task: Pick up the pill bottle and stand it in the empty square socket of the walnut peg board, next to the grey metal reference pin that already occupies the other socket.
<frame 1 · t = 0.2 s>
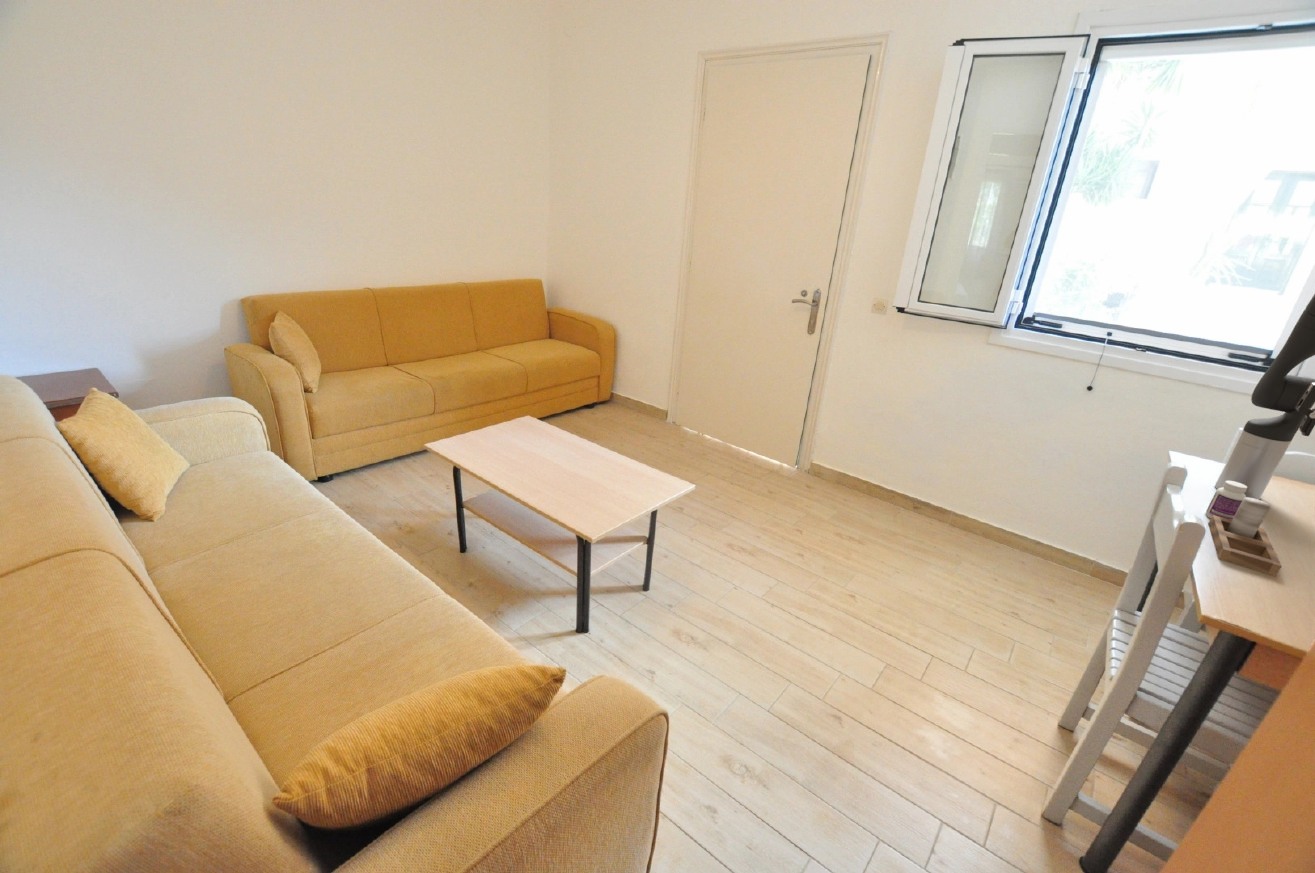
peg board: (1239, 547, 127), on the table
pill bottle: (1218, 519, 140), on the table
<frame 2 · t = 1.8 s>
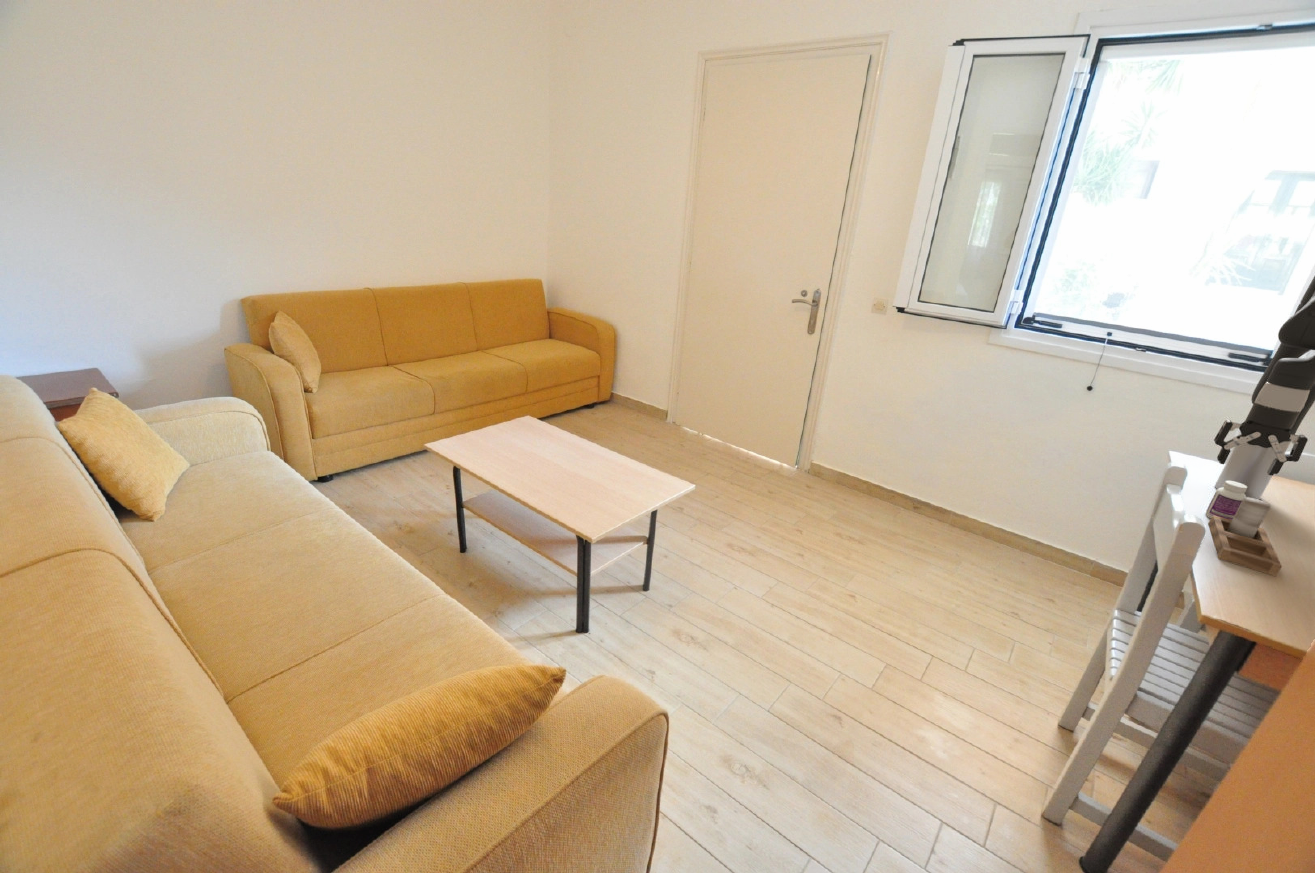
hand: (1244, 468, 135), 14 cm above the table, fingers open, 8 cm apart
nothing on the table moved.
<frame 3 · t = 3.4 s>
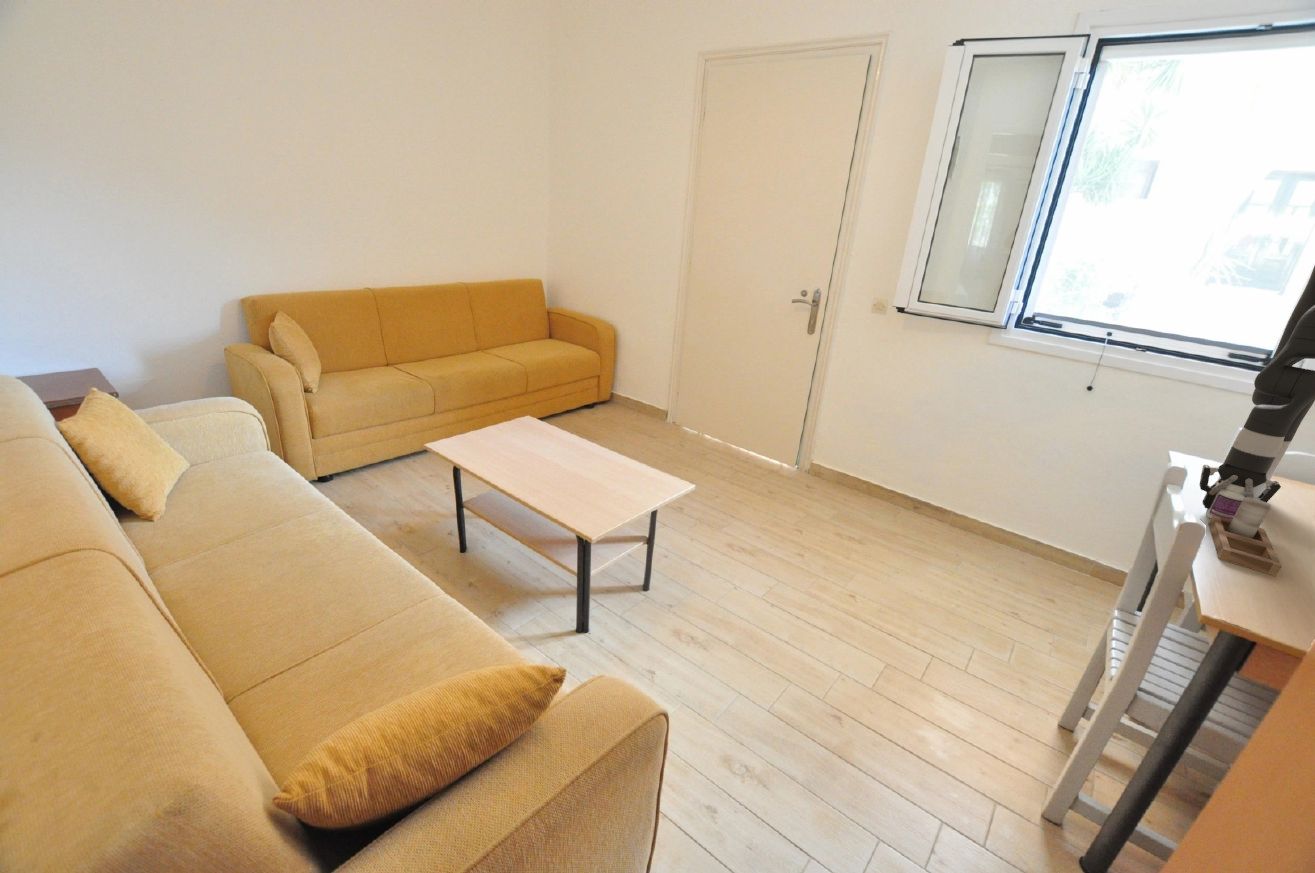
hand: (1222, 511, 139), 2 cm above the table, fingers closed on pill bottle, 5 cm apart
pill bottle: (1218, 519, 140), on the table, touching gripper
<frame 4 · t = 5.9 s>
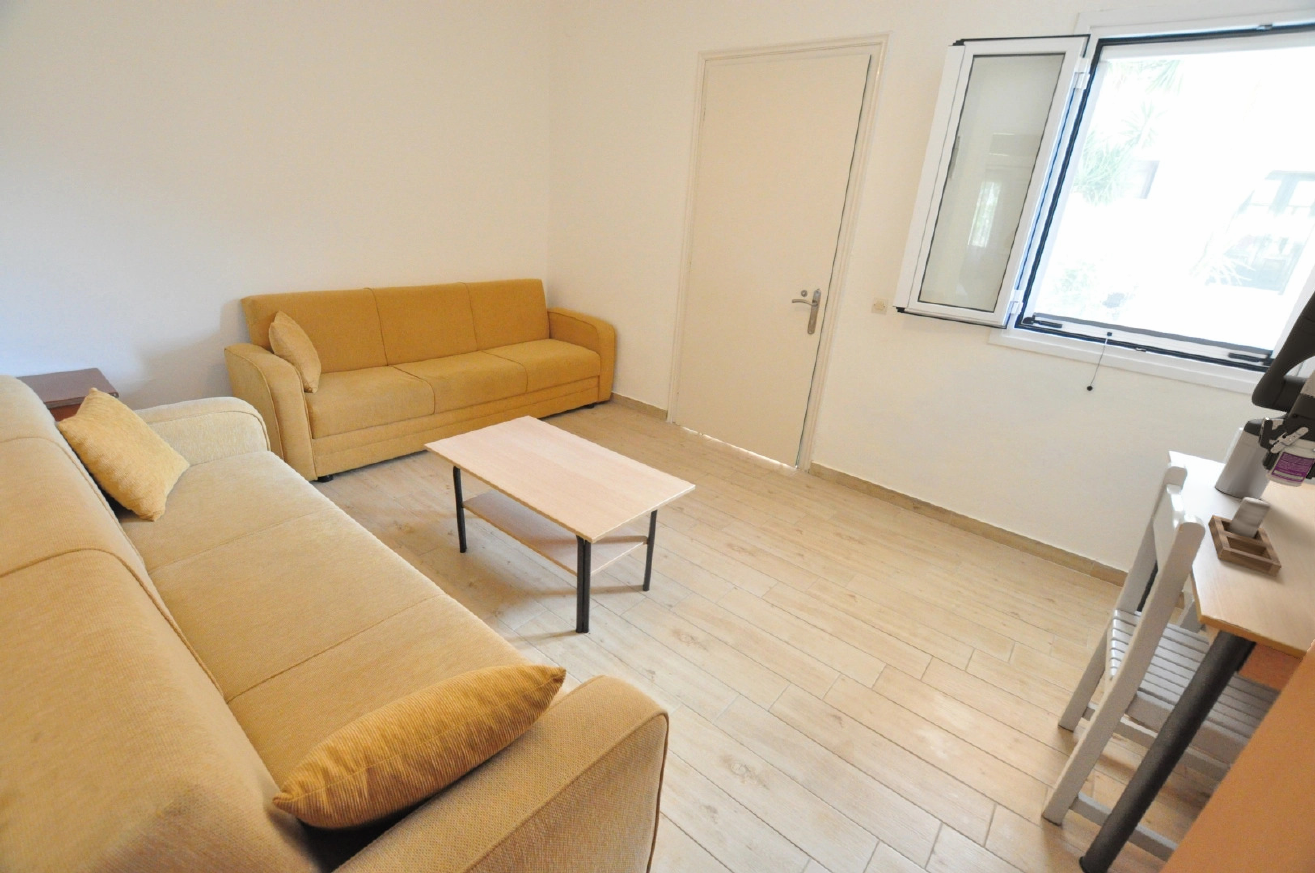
hand: (1286, 473, 116), 20 cm above the table, fingers closed on pill bottle, 5 cm apart
pill bottle: (1281, 482, 117), point 18 cm above the table, touching gripper
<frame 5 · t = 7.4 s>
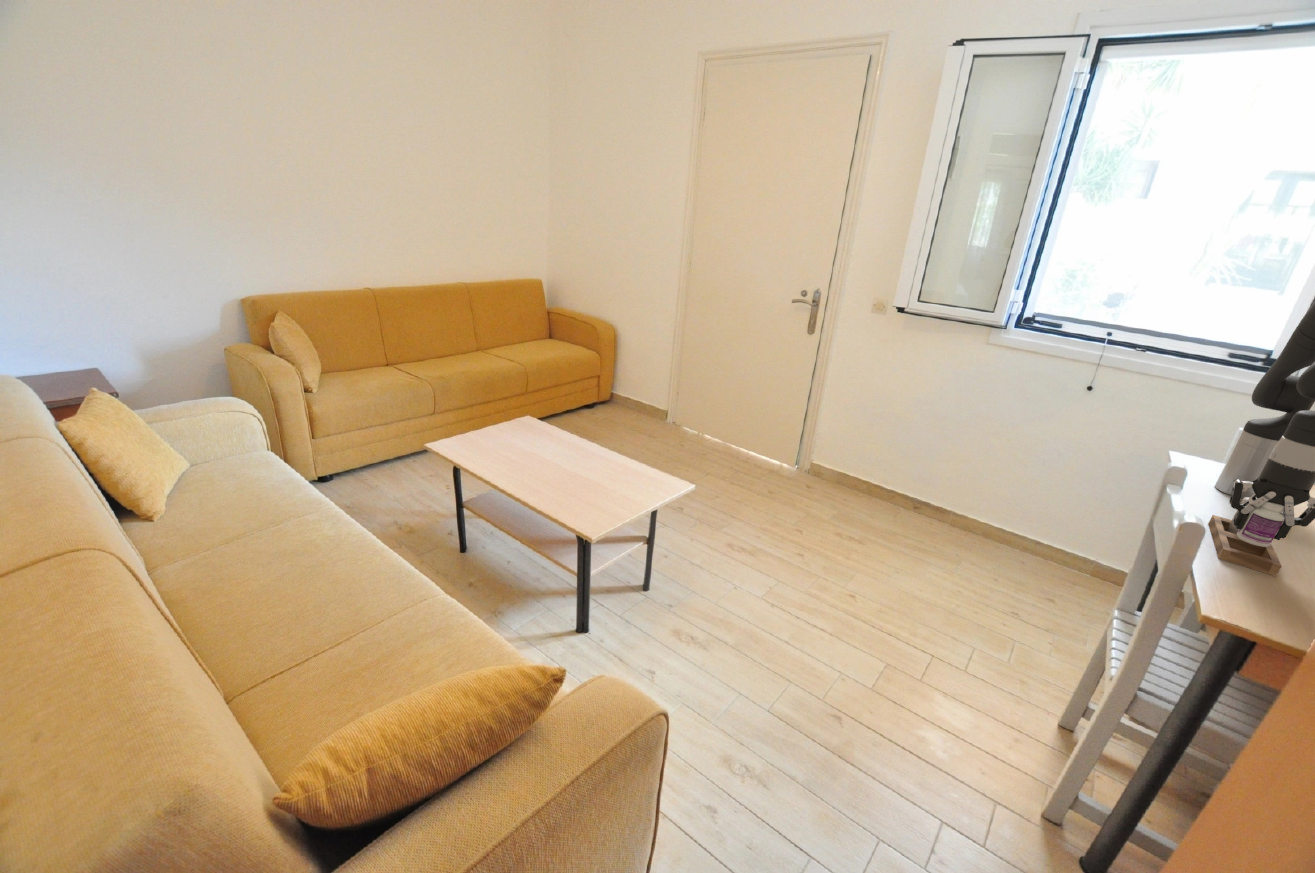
hand: (1256, 532, 121), 6 cm above the table, fingers closed on pill bottle, 5 cm apart
pill bottle: (1251, 541, 122), point 4 cm above the table, touching gripper
when the fingers open (3 cm above the table, at t = 8.4 s): pill bottle drops 1 cm, resting in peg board.
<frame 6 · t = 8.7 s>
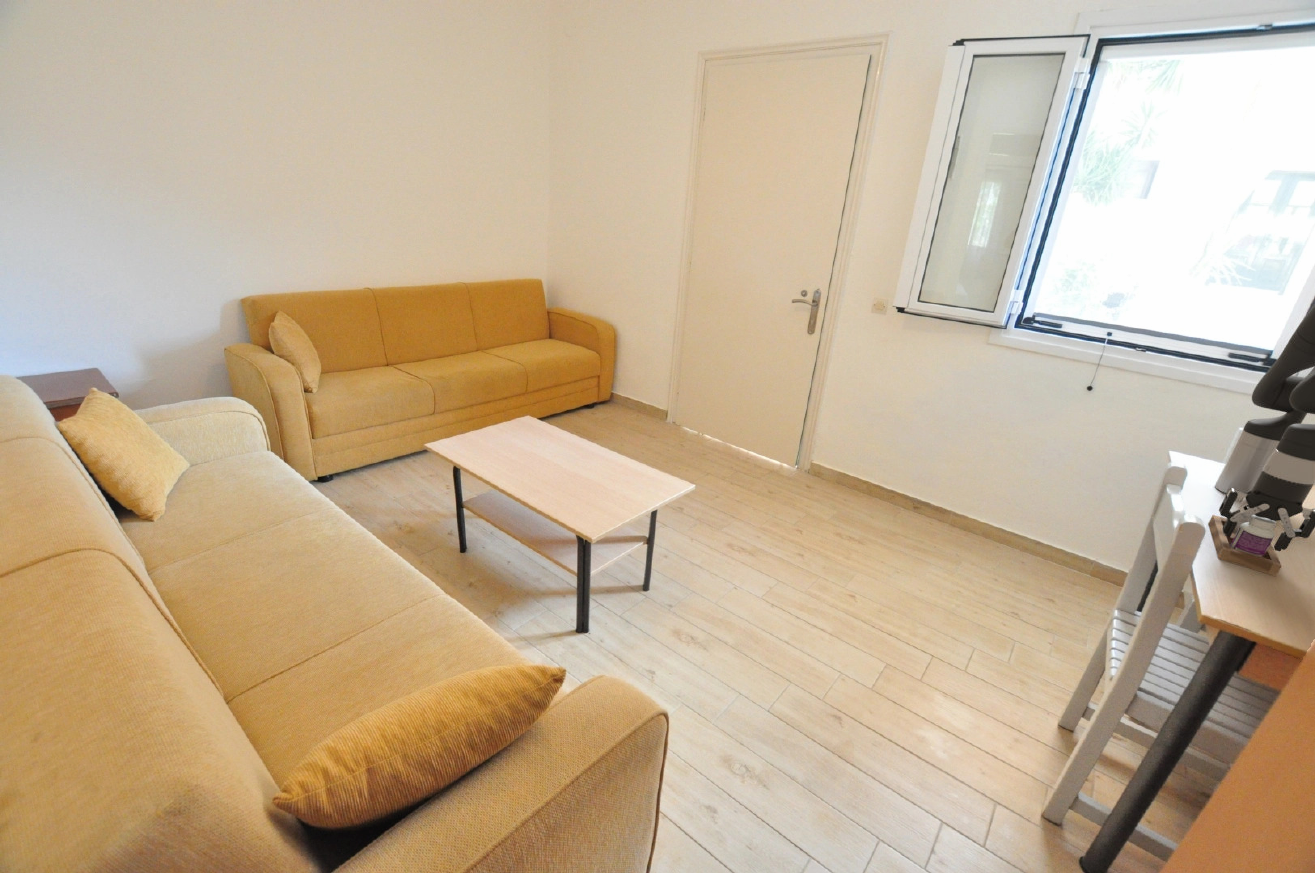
hand: (1251, 542, 122), 4 cm above the table, fingers open, 7 cm apart
pill bottle: (1242, 557, 123), resting in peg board
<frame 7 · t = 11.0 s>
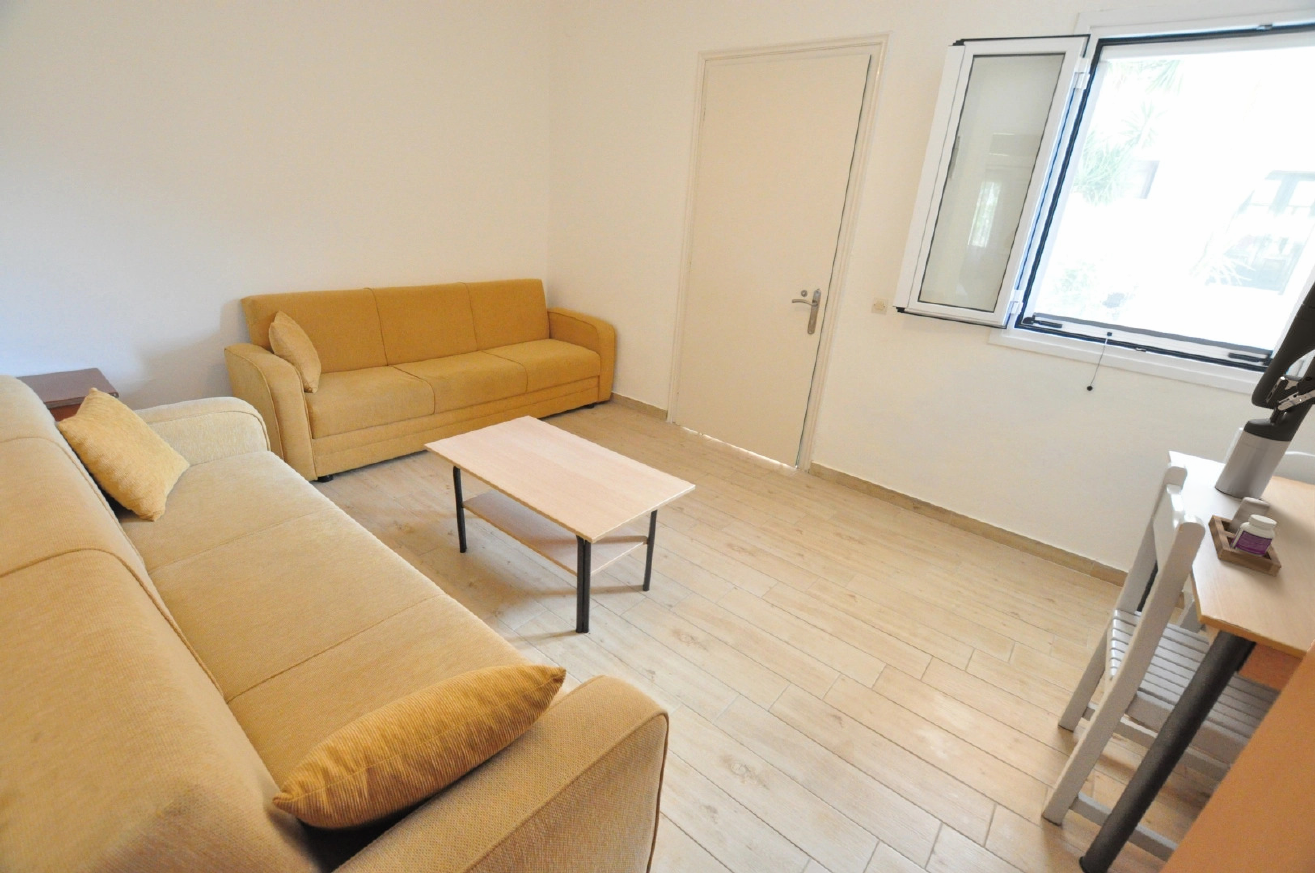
hand: (1301, 430, 121), 27 cm above the table, fingers open, 8 cm apart
nothing on the table moved.
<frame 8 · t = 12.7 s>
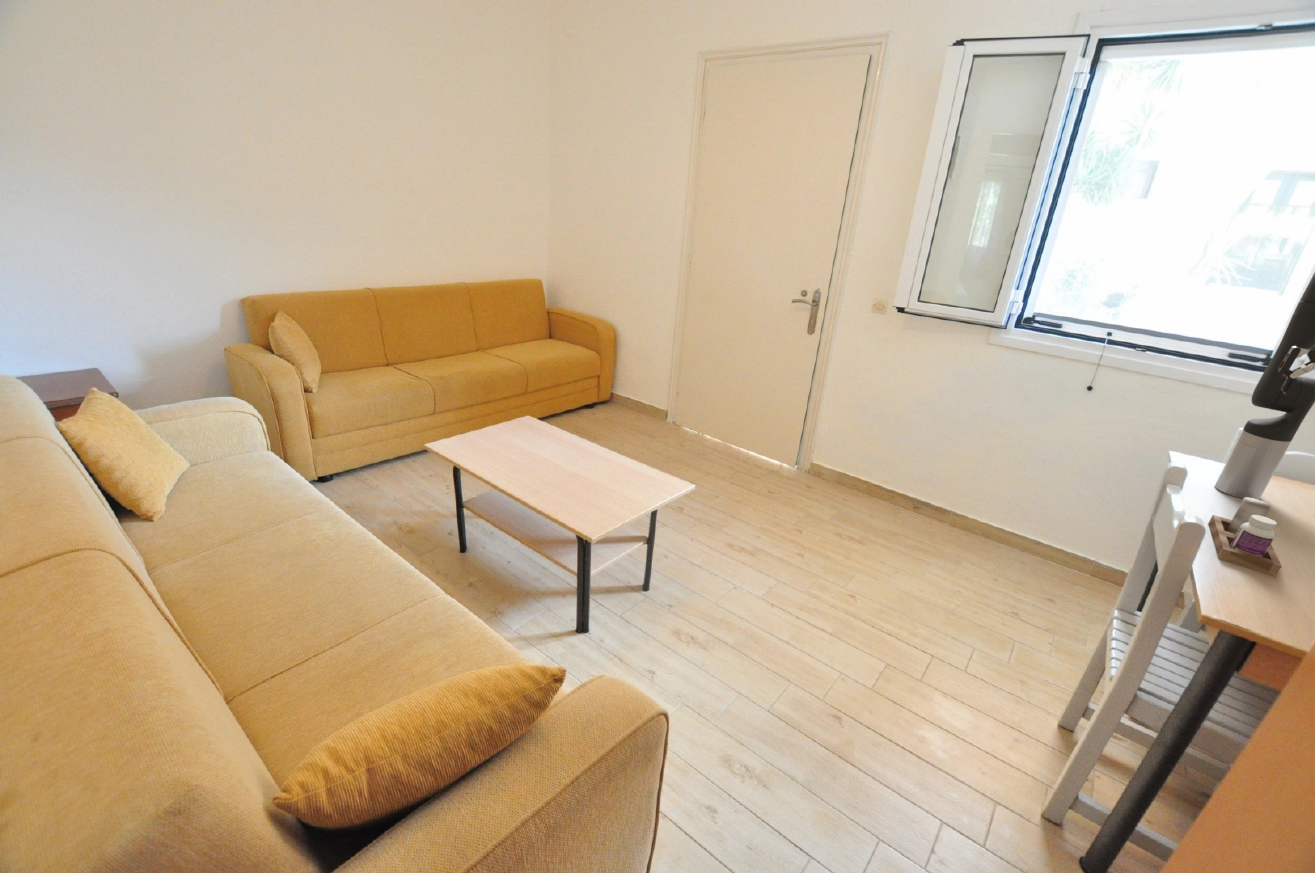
hand: (1313, 399, 123), 33 cm above the table, fingers open, 8 cm apart
nothing on the table moved.
at the end: pill bottle 0.1 cm from the target spot on the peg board, point 0.0 cm above the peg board's base; pill bottle tilted 0°; the gripper is holding nothing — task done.
